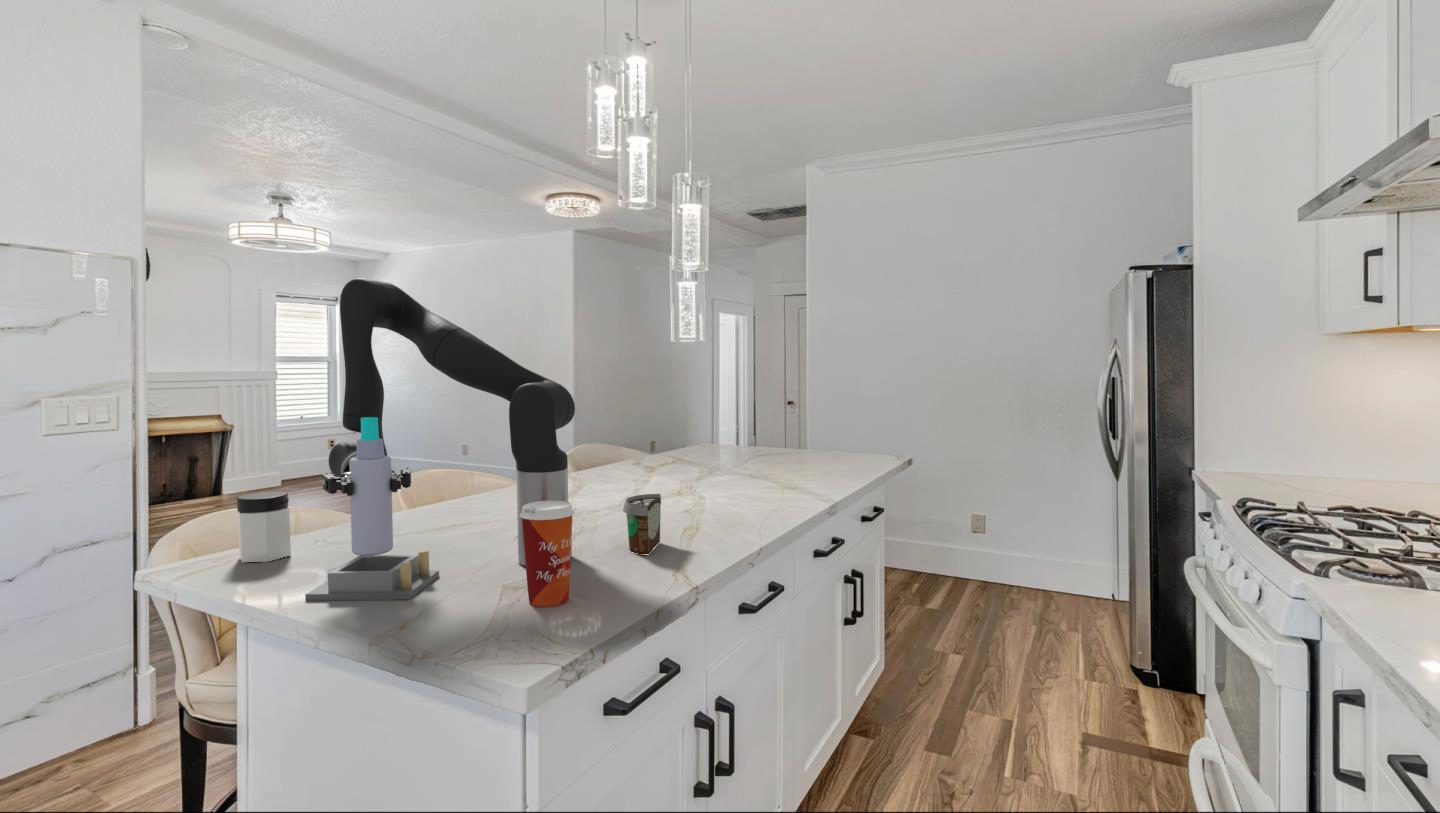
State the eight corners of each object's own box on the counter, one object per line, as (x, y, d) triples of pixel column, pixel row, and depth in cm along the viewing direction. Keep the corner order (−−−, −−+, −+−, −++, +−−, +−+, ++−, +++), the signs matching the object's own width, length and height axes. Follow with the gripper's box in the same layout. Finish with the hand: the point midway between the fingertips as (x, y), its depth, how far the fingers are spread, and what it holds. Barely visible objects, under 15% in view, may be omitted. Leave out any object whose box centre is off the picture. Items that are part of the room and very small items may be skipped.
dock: (439, 576, 120) (438, 547, 119) (409, 599, 108) (408, 568, 108) (345, 577, 120) (344, 548, 119) (305, 600, 108) (304, 569, 107)
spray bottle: (369, 558, 109) (366, 420, 108) (343, 553, 112) (339, 418, 110) (401, 549, 115) (398, 417, 113) (375, 544, 117) (372, 415, 116)
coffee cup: (548, 613, 101) (546, 512, 101) (509, 603, 106) (507, 506, 105) (587, 597, 109) (586, 502, 108) (550, 588, 113) (548, 497, 112)
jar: (294, 558, 131) (291, 495, 131) (242, 566, 126) (239, 501, 125) (287, 548, 138) (284, 489, 137) (237, 556, 133) (234, 494, 132)
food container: (632, 540, 144) (632, 492, 143) (661, 541, 143) (661, 493, 142) (615, 556, 132) (614, 504, 131) (647, 557, 131) (646, 505, 130)
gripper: (318, 454, 121) (320, 467, 107) (407, 449, 128) (421, 461, 114) (319, 496, 122) (321, 515, 107) (408, 489, 129) (421, 506, 114)
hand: (372, 487), depth 111 cm, fingers closed on spray bottle, 6 cm apart
